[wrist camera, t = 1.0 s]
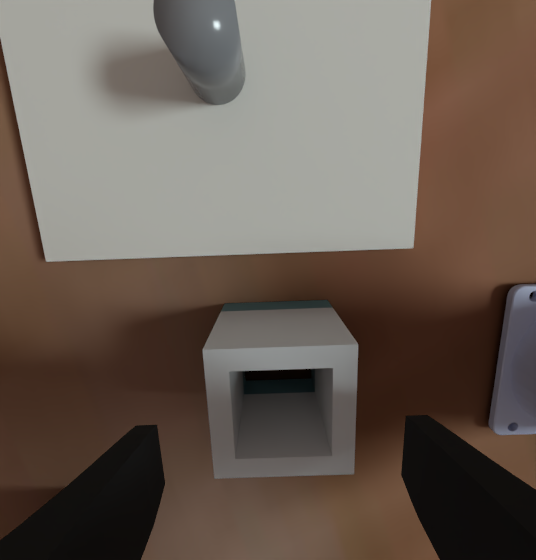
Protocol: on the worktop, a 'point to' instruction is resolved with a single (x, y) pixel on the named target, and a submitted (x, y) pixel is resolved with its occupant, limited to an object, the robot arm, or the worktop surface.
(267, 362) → the sleeve
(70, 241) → the pin board
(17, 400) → the worktop surface
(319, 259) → the worktop surface
